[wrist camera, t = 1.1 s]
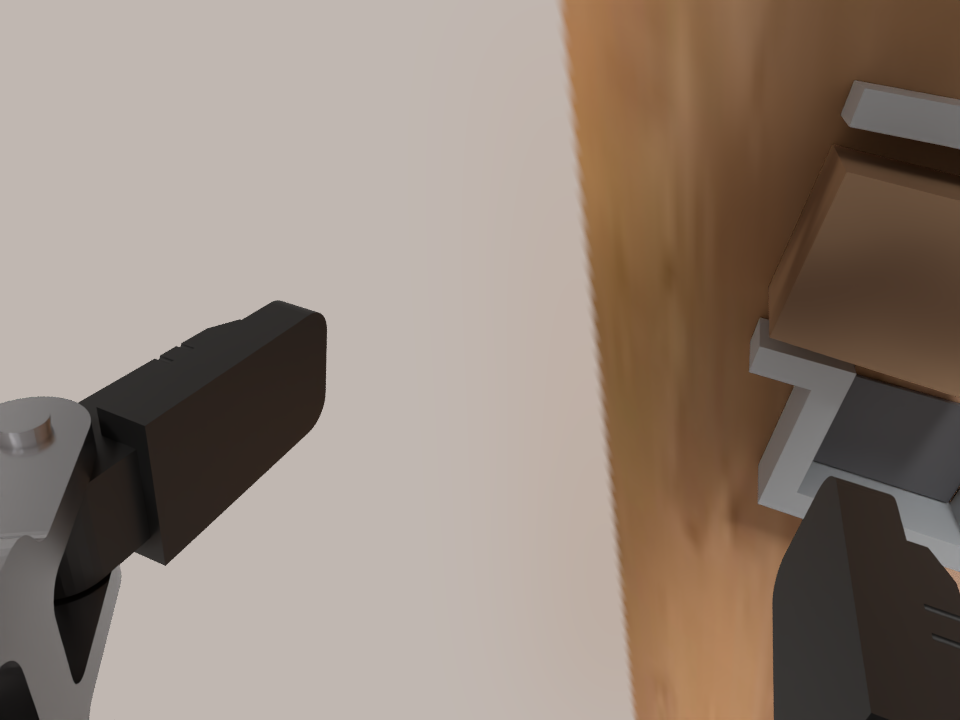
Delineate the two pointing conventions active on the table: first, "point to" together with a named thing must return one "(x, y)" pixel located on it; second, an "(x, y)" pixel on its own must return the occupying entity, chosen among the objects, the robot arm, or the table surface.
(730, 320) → the table surface
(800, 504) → the track
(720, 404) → the table surface
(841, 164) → the block
